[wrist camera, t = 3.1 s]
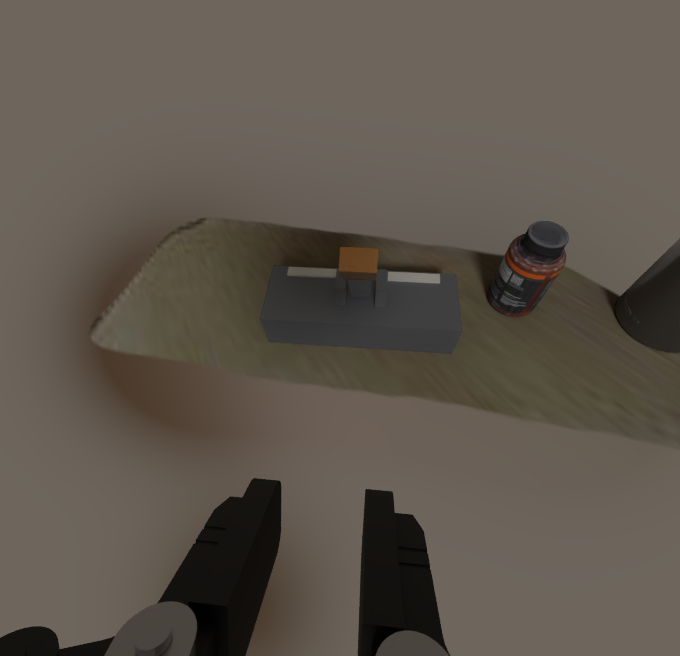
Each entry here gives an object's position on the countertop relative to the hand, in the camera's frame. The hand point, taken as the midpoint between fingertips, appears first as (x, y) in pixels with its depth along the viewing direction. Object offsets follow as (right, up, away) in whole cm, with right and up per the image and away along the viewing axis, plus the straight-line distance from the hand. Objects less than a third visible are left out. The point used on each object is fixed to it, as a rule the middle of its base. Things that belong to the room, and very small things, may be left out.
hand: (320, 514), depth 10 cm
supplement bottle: (+22, +9, +37) cm, 44 cm away
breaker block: (+3, +6, +36) cm, 36 cm away
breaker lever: (+3, +9, +30) cm, 32 cm away
